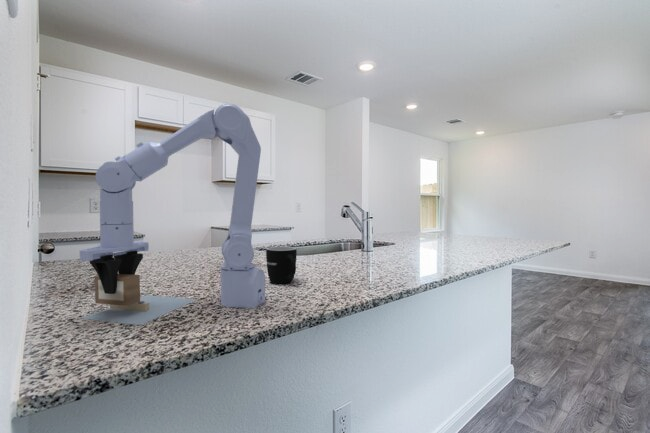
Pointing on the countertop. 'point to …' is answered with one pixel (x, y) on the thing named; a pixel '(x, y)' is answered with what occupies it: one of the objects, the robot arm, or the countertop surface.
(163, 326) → the countertop surface
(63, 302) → the countertop surface
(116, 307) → the blue flat mat
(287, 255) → the mug
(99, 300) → the brown square box
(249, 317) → the countertop surface
